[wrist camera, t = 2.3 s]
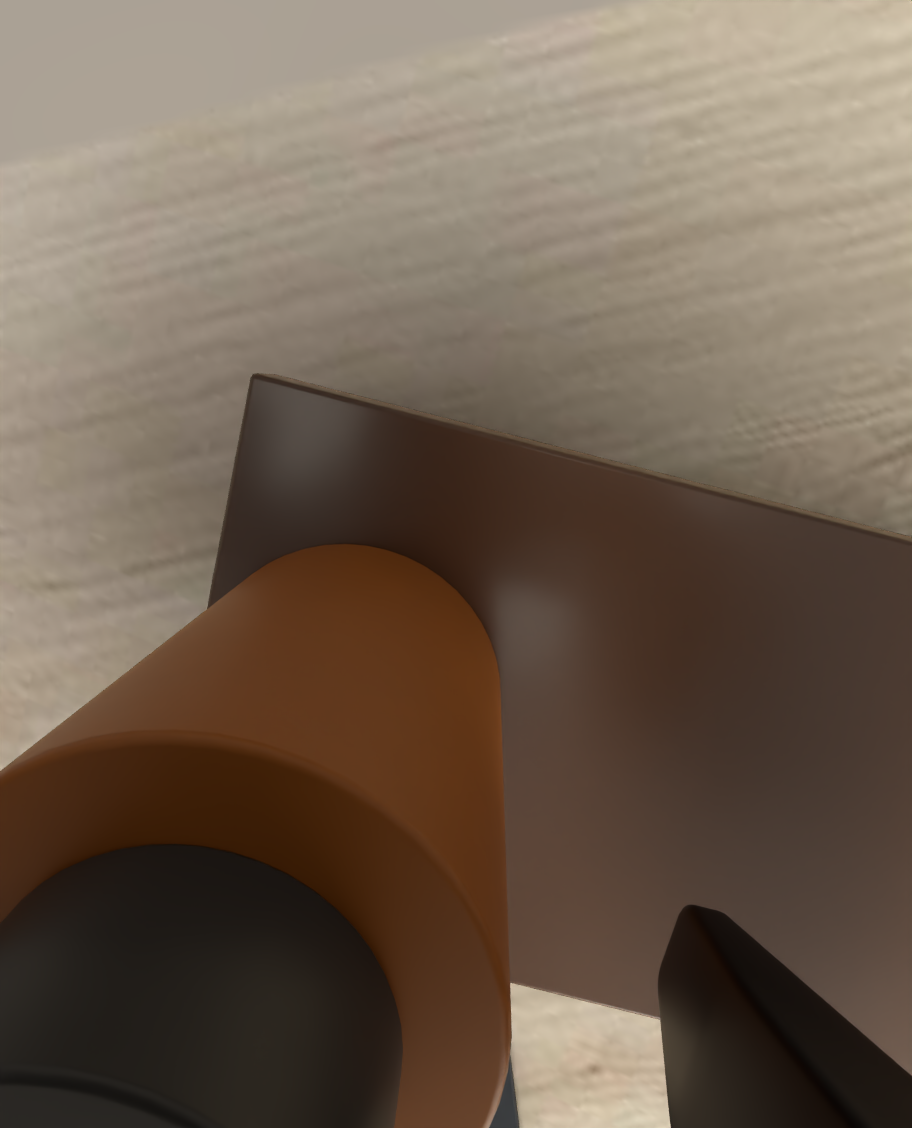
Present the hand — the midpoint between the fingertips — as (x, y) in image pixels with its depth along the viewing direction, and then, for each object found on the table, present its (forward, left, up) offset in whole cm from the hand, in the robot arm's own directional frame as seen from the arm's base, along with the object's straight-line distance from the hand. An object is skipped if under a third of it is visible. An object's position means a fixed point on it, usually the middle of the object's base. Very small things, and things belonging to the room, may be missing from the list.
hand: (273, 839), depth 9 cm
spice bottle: (0, 0, -4) cm, 4 cm away
